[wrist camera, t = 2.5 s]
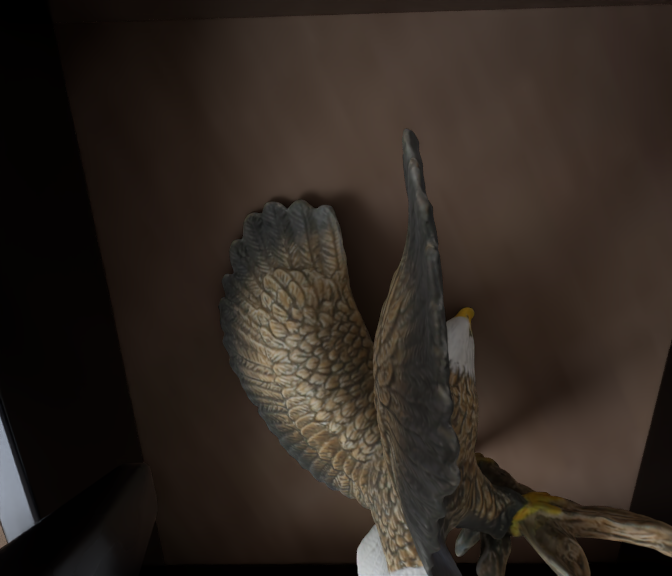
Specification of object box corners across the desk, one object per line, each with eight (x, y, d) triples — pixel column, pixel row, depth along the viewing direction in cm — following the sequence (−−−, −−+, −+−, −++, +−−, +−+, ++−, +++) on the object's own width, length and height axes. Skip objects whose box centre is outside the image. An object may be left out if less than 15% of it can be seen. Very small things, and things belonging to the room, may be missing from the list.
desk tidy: (808, -48, 9) (1168, -183, 5) (636, 581, 14) (742, 745, 10) (6, -20, 9) (-237, -126, 5) (145, 583, 15) (76, 742, 11)
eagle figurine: (683, 367, 10) (472, 26, 7) (765, 816, 6) (292, 555, 2) (415, 401, 16) (213, 220, 12) (356, 655, 11) (6, 495, 7)
